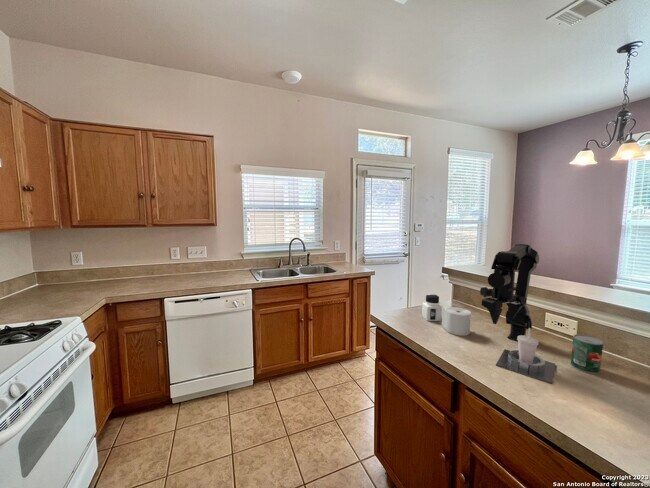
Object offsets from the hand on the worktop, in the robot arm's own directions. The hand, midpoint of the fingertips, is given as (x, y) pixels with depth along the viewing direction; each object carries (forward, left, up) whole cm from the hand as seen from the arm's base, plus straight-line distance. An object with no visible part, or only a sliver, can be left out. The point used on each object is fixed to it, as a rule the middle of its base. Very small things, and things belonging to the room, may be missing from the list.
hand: (502, 322), depth 108 cm
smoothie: (+4, +9, -13) cm, 16 cm away
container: (-18, -35, -13) cm, 42 cm away
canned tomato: (-9, +25, -13) cm, 29 cm away
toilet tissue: (-10, -20, -13) cm, 26 cm away
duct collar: (+4, +9, -13) cm, 16 cm away
